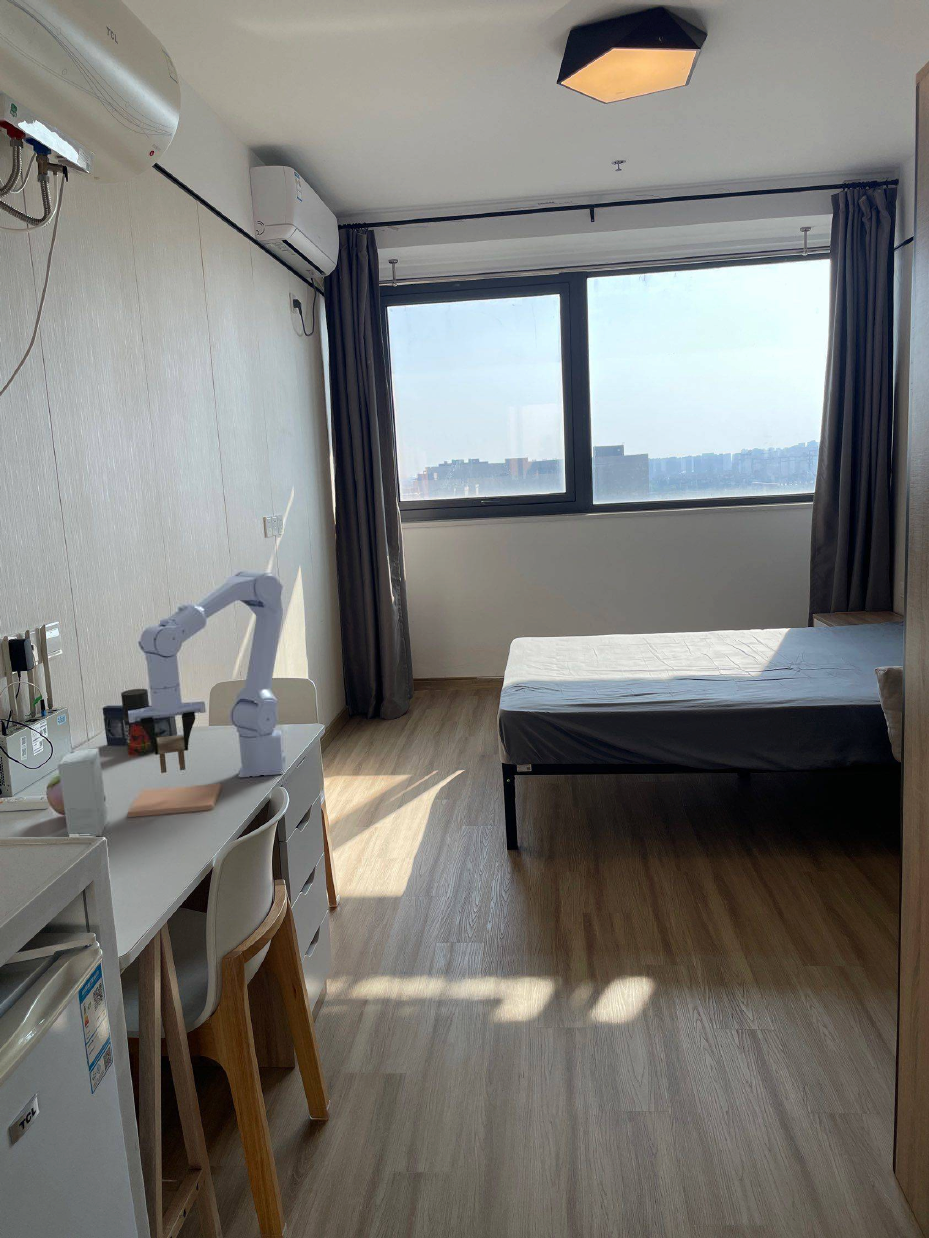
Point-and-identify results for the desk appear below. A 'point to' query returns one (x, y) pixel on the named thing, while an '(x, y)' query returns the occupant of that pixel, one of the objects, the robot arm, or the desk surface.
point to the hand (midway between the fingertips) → (171, 751)
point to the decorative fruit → (55, 795)
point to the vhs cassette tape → (117, 726)
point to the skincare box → (83, 792)
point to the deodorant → (136, 722)
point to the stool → (171, 750)
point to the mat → (175, 800)
